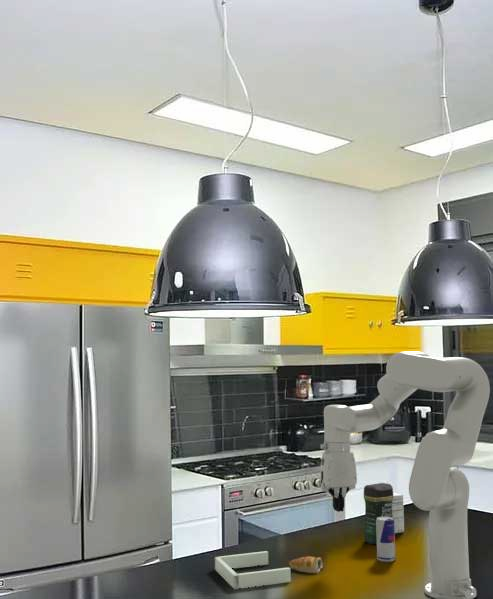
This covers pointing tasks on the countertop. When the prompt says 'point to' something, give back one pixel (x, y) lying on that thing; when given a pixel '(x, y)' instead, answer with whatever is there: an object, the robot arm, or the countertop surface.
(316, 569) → the pastry
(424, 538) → the countertop surface
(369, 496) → the coffee jar
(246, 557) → the c-shaped clip
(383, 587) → the countertop surface
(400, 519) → the supplement box
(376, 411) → the robot arm
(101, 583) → the countertop surface
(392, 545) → the energy drink
